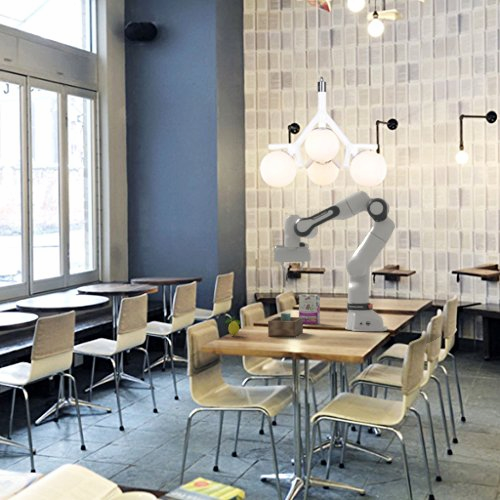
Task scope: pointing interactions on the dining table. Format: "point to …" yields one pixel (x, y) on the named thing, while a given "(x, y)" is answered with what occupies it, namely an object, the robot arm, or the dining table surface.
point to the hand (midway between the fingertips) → (292, 270)
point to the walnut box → (285, 327)
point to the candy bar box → (309, 308)
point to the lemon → (233, 326)
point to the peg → (285, 317)
